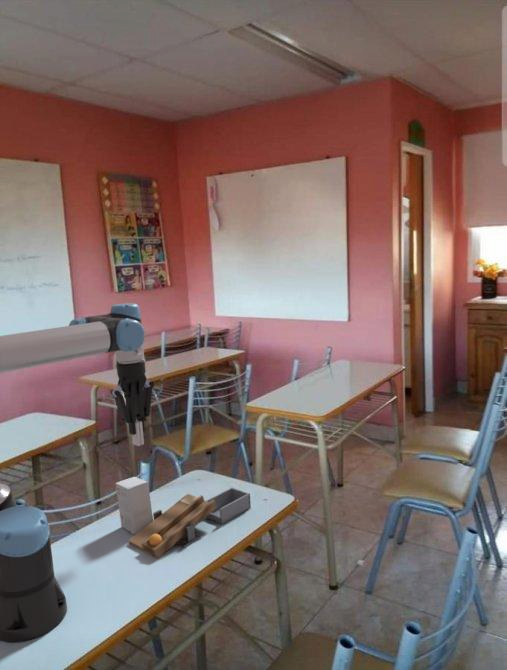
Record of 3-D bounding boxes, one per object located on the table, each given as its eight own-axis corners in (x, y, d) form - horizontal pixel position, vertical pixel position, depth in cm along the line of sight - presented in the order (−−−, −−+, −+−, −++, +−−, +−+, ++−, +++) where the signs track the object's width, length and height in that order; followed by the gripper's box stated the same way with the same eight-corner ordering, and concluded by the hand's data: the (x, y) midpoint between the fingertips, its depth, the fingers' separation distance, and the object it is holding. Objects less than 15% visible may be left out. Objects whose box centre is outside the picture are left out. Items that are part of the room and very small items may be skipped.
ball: (157, 551, 141) (152, 542, 140) (149, 547, 143) (144, 538, 142) (166, 542, 143) (161, 533, 142) (158, 538, 145) (153, 529, 144)
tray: (222, 524, 155) (221, 509, 154) (204, 516, 160) (203, 502, 159) (250, 507, 164) (249, 493, 163) (232, 501, 169) (231, 487, 168)
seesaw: (157, 558, 139) (154, 550, 139) (129, 543, 147) (126, 536, 147) (216, 507, 154) (214, 500, 154) (188, 496, 162) (186, 489, 162)
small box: (154, 526, 155) (148, 481, 154) (134, 534, 151) (127, 488, 150) (140, 518, 161) (134, 475, 160) (120, 526, 157) (114, 482, 156)
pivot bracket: (184, 547, 144) (183, 531, 143) (148, 530, 154) (147, 515, 153) (201, 537, 148) (200, 522, 148) (165, 521, 158) (164, 507, 158)
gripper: (117, 367, 142) (126, 454, 145) (158, 357, 151) (166, 439, 155) (101, 364, 147) (109, 448, 150) (142, 355, 156) (149, 434, 160)
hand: (138, 444), depth 153 cm, fingers closed
